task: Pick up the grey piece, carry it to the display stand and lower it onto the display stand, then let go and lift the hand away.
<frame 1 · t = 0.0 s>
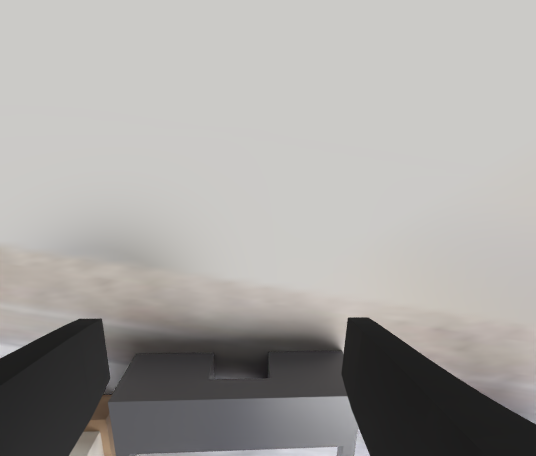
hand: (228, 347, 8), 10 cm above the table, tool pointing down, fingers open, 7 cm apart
display stand: (27, 449, 21), on the table
grey piece: (241, 374, 21), on the table
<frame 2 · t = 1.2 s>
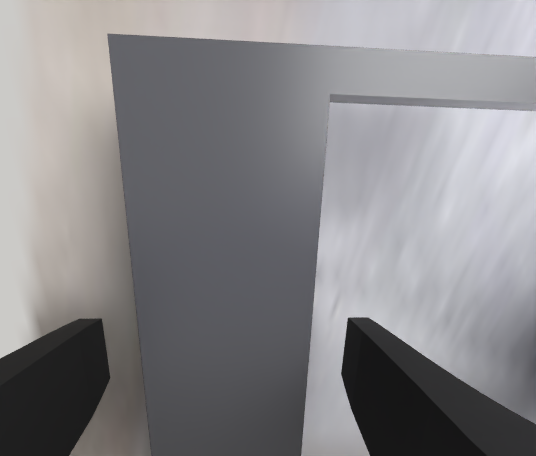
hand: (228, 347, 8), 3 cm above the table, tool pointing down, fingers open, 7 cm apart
grey piece: (236, 301, 11), on the table
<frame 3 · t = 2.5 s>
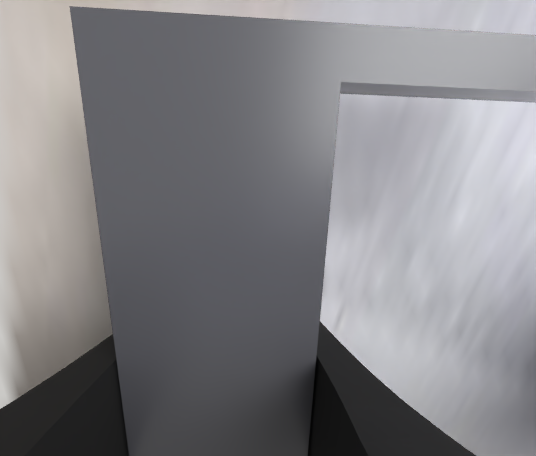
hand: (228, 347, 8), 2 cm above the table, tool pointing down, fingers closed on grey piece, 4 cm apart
grey piece: (232, 314, 10), on the table, touching gripper
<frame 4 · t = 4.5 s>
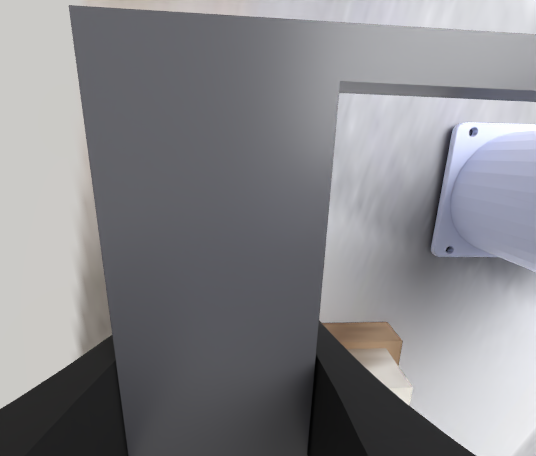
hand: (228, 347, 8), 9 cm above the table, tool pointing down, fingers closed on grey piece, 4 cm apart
display stand: (309, 410, 21), on the table
grey piece: (232, 314, 10), point 7 cm above the table, touching gripper
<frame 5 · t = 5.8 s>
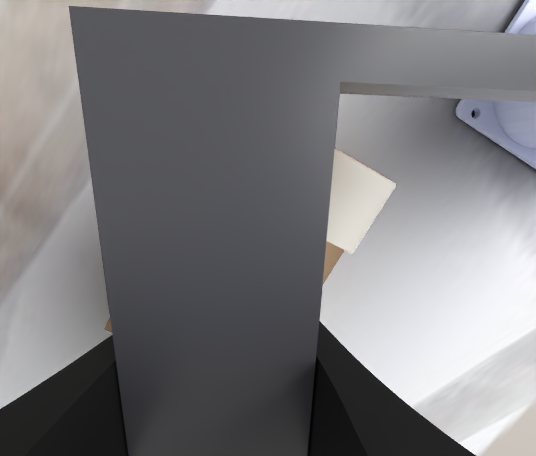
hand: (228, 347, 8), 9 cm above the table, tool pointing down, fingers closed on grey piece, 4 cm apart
display stand: (241, 245, 17), on the table
grey piece: (232, 314, 10), point 8 cm above the table, touching gripper
when the fingers open (8 cm above the table, at t = 6.8 s): grey piece drops 1 cm, resting on display stand.
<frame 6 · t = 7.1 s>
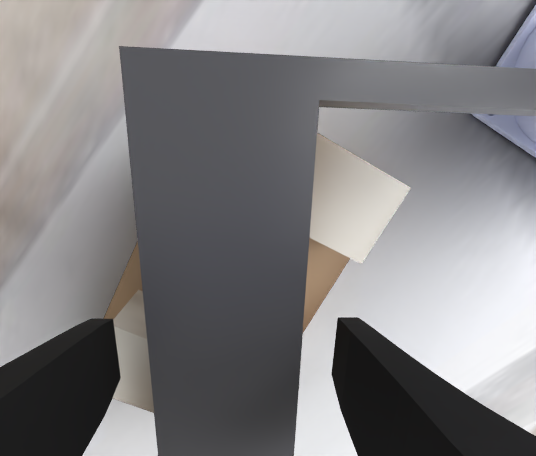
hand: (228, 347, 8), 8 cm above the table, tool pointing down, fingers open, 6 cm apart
display stand: (240, 252, 16), on the table
grey piece: (235, 294, 11), point 5 cm above the table, touching display stand
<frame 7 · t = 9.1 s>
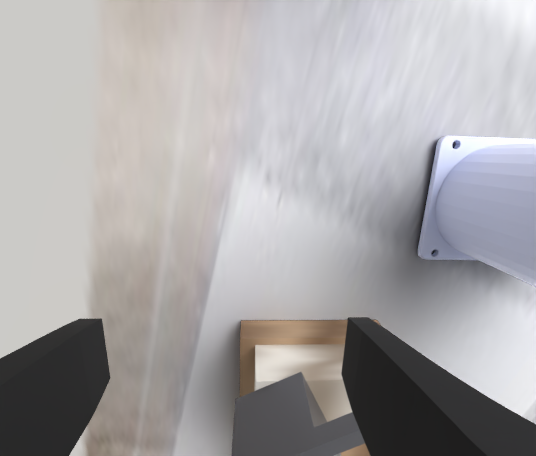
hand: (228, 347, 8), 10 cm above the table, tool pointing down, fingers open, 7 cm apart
display stand: (303, 402, 22), on the table
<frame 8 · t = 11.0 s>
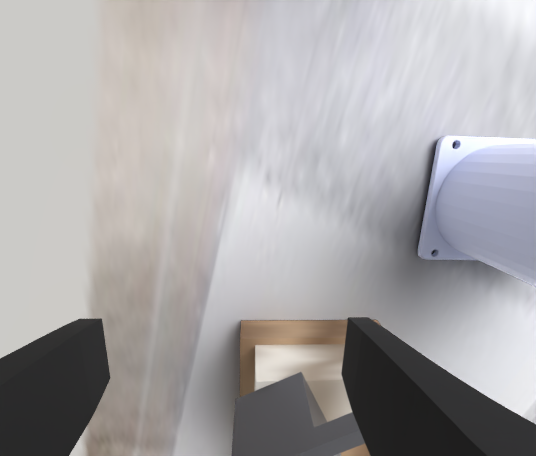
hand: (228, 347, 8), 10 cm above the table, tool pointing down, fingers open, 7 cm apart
display stand: (303, 402, 22), on the table
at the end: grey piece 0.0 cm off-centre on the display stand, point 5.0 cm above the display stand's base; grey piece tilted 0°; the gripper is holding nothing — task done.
